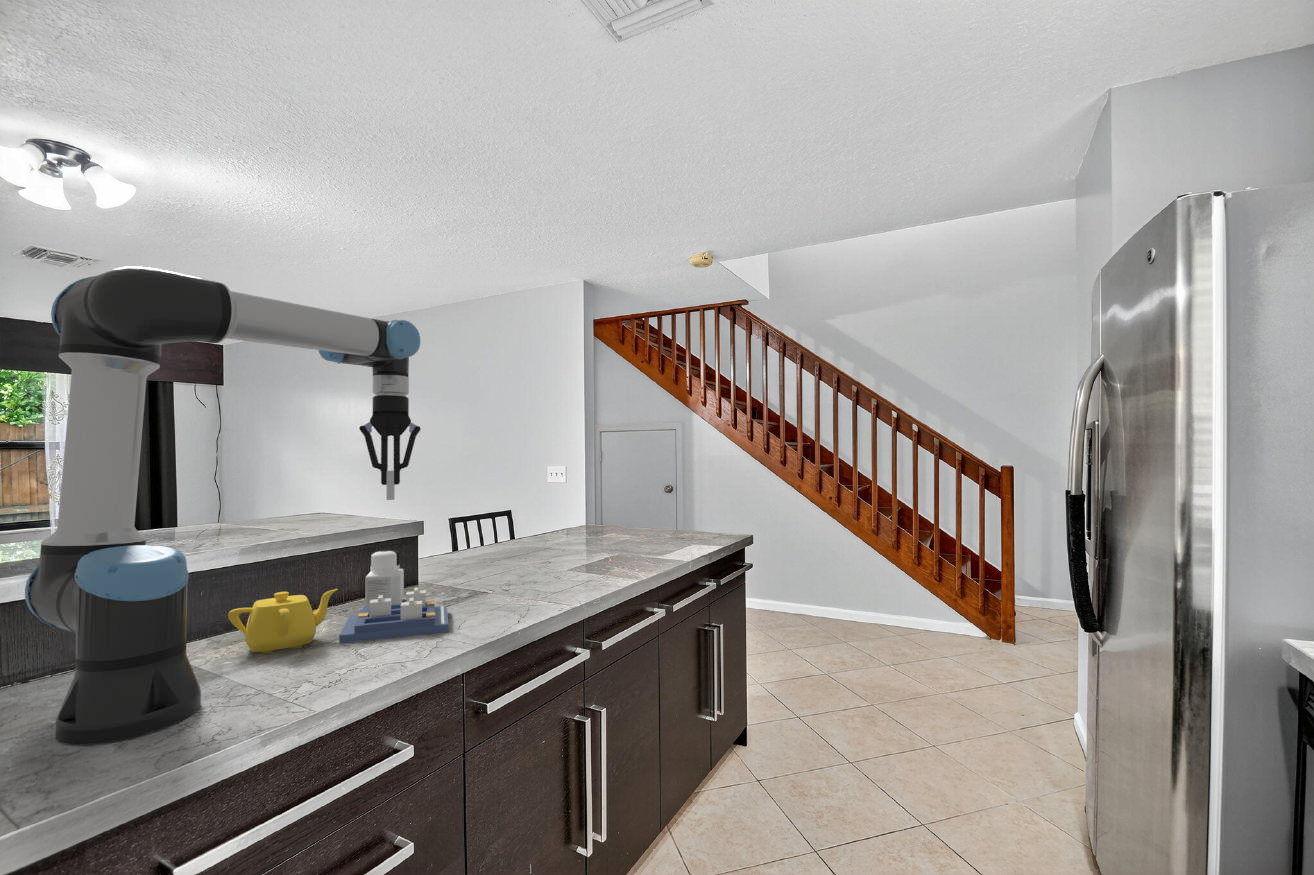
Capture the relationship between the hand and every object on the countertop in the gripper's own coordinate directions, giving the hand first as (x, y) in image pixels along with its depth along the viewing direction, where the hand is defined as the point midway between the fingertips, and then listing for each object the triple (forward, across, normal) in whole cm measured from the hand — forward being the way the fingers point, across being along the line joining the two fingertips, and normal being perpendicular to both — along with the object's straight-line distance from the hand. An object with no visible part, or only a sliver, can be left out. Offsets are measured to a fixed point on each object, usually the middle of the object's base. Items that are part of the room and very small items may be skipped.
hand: (390, 499), depth 135 cm
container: (+27, -2, +13) cm, 30 cm away
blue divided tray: (+26, +2, -9) cm, 28 cm away
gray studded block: (+25, -1, -9) cm, 26 cm away
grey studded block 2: (+25, +5, -14) cm, 29 cm away
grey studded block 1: (+25, +5, -4) cm, 26 cm away
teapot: (+27, -18, -14) cm, 35 cm away
